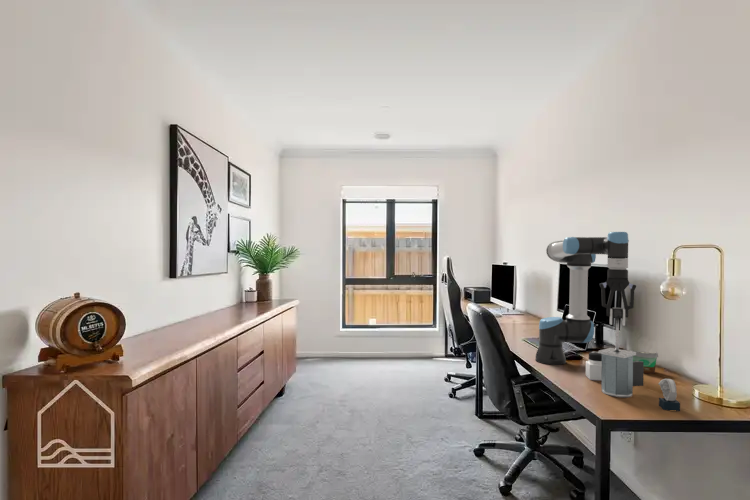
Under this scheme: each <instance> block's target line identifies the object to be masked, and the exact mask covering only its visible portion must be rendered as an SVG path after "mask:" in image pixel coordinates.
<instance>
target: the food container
mask: <svg viewBox="0 0 750 500" xmlns="http://www.w3.org/2000/svg"><path fill="white" fill-rule="evenodd" d="M630 351H632V352H636V355H633V361H642V362H644V373H643V374H646V375H647V374H648V375H649V374H651V375H653V374H655V372H656V365H657V358H659V353H658V351H656V352H649V351H648V352H647V351H634V350H632V349H630Z"/></svg>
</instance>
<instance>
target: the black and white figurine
mask: <svg viewBox="0 0 750 500" xmlns="http://www.w3.org/2000/svg"><path fill="white" fill-rule="evenodd" d="M585 376H586V378H588V380H590V381H601V382H602V354H600V353H598V351H589V353H588V360H586V361H585Z"/></svg>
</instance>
